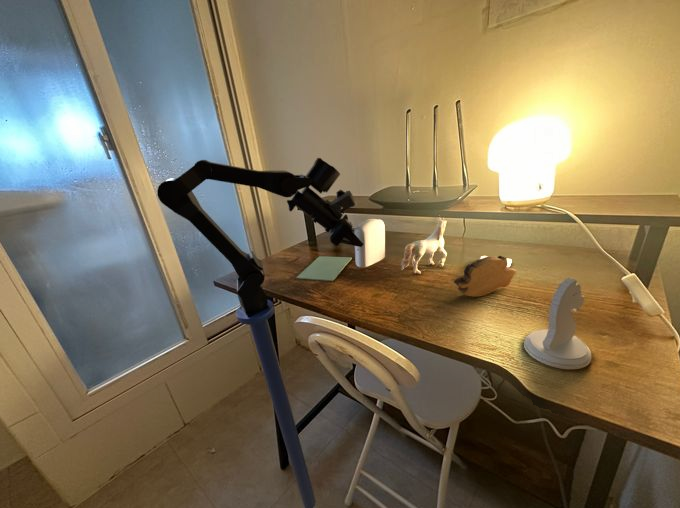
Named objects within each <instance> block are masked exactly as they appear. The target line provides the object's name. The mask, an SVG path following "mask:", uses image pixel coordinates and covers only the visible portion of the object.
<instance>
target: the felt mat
mask: <svg viewBox="0 0 680 508" xmlns="http://www.w3.org/2000/svg"><path fill="white" fill-rule="evenodd" d="M352 259H353V257H352V256H351V257H349V256H324V255H319V256H318V257H316V258H315V260H314V261H313V262H311V263H310V264H309V265H308V266H307V267H306V268H305V269H304V270H303V271H301V272H300V273H299V274H298V275H297V276H296V277H295V279H297V280H308V281H309V280H311V281H322V282H324V281H325V282H333V281H335V280H336V278H337V277H338V276H339V275H340V274H341V272H342V271H343V270H344V269H345V267H346V266H347V265H348V264H349V263H350V262H351V261H352Z"/></svg>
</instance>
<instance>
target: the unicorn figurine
mask: <svg viewBox="0 0 680 508" xmlns="http://www.w3.org/2000/svg"><path fill="white" fill-rule="evenodd" d="M437 220H438V221H437V226H436V228H435V229H434V230H433V232H432V233H431V234H430V235H429V236H427V237H426V239H420V240H415V241H413V242H412V243H408V244H406V245H405V248H404V251H403V258H402V259H401V263H400V265H401V271H403V270H405V268H407V267H409V265H410V263H411V266H412V272H413V274H415V275H416V274H417V275H421V274H422V271H421V270H419V268H418V263H419V262H420V260H421V259H422V257H423V256H424V254H427V255H428V254H429V259H428V260H427V266H430V265H431V266H434V265H435V262H434V260H433V257H434V254H435V252H439V253H441V254H442V257H441V258H440V260H439V261H438V267H439V268H443V266H444V265H445V262H446V258H447V256H448V253H447V251H446V250H445V249H444V246H445V239H444V232H445V230H446V226H447V220H443V219H442V218H441V216H440V217H438V219H437Z"/></svg>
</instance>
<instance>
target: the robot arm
mask: <svg viewBox="0 0 680 508" xmlns="http://www.w3.org/2000/svg"><path fill="white" fill-rule="evenodd" d="M340 176H341V173H340V172H339V170H338V169H337V168H336V167H334V166H333V165H331V164H329V163H328V162H327V161H324V160H323V159H322V158H321V157H317V158H316V159H315V160H314V163H313V165H312V167H311V168H310V169H309V171H308V172H307V173H306V175H304V174H294V173H292V172H290V171H287V170H257V169H251V168H246V167H241V166H234V165H229V164H223V163H218V162H212V161H209V160H207V159H201V160H198V161H196V162H195V163H194V165H193V166H192V167H190V168H189V169H188V170H187V171H185V172H184V173H182V174H181V175H180V176H178V177H172V178H168V179H166V180H165V181H162V182H161V183H160V184H159V185H158V187H157V191H156V194H157V195H156V196H157V199H158V200H159V201H160V203H161V204H162V205H164V206H165V207H166V208H168V209H169V210H171V211H172V212H173V213H175V214H176V215H178V216H180V217H182V218H184V219H185V220H187V221H188V222H189V223H191V225H192V226H194V228H196V229H197V230H198V232H200V234H202V236H204V238H205V239H206V240H207V241H208V242H209V243H210V244H211V245H212V246H214V248H215V249H216V250H218V251H219V253H220V254H221V255H222V256H223V257H225V260H228V262H229V263H230V264H231V265H232V268H233V269H234V271H235V273H236V275H237V278H236V295H237V298H238V301H239V305H240V306H241V307H240V306H239V307H240V310H241V311H242V312H243V313H244V314H245V315H246V316H247V317H251V316H253V315H255V314H258V313H260V312H262V311H264V310H267V309H269V306H268V305H267V304H268V301H267V300H268V298H267V293H266V291H265V290H264V289H263V286H262V285H263V284H264V282H265V278H266V277H265V276H266V275H265V272H264V265H263V262H262V260H261V259H260V258H258V256H256V254H255V253H254V251H252V250H250V251H249V253H247V252H245V251H244V250H242V249H241V248H240V247H239V245H237V244H236V243H235V242H234V241H233V239H232V238H231V237H229V235H228V234H227V233H226V231H224V230H223V229H222V228H221V227H220V226H219V225H218V224H217V222H216V221H215V220H214V219H213V218H212V217H211V216H210V215H209V214H208V213H207V212H206V211H205V209H204V208H202V205H201V204H200V202H199V200H198V198H197V196H196V195H195V193H194V192H193V190H195V189H196V188H197V187H199V186H200V185H201V184H202V183H203V182H205V181H206V180H210V181H216V182H222V183H229V184H236V185H241V186H247V187H252V188H253V187H254V188H258V189H262V190H264V191H267V192H269V193H272V194H274V195H277V196H279V197H283V198H291V197H292V198H291V199H286V203H287V206H288V211H289V212H293V210H294V209H295V208H297V209H299V210H300V211H301V212H302V213H304V214H305V215H306V216H308V217H309V218H310V219H311V220H312V222H313V223H315V224H318V225H320V226H321V227H322V228H323V229H324V231H325V232H327V233H328V236H329V241H330V243H332V245H334V246H336V247H338V246H339V245H340V244H345V245H349V246H353V247H355V246H358V247H362V246H363V242H362V241H361V240H360V239H359V238H358V237H357V236H356V234H355V233H354V230H355V229H353V223H352V222H351V221H349V217H348V215H347V214H346V211H347V210H349V209H350V208H353V207H355V206H356V205H357V204H358V202H357V201H356V199H355V197H354V195H353V193H352V192H351V191H350V190H346V191H344V190H343V189H339V190H338V191H336V193H335V194H336V195H335V196H336V197H335V198H334V199H333V200H331V201H330V200H329V199H324V198H323V197H322V196H321V195H319V194H322V193H328V192H329V190H330V189H331V188H332V187H333V185H334V184H335V182H336V181H337V179H338V178H339V177H340ZM310 187H312V188H313V189H314V190H315V191H316V192H315V191H314V190H313V189H312V188H310ZM300 190H301V191H300ZM317 192H318V193H319V194H318V193H317Z"/></svg>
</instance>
